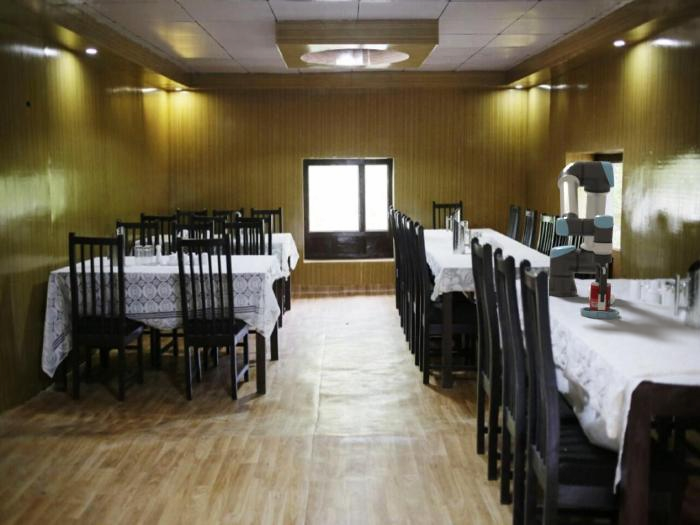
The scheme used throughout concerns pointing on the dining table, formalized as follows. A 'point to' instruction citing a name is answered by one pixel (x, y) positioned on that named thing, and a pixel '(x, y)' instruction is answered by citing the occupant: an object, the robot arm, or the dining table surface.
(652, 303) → the dining table surface
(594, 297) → the canned food
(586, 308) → the dish
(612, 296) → the penguin figurine
